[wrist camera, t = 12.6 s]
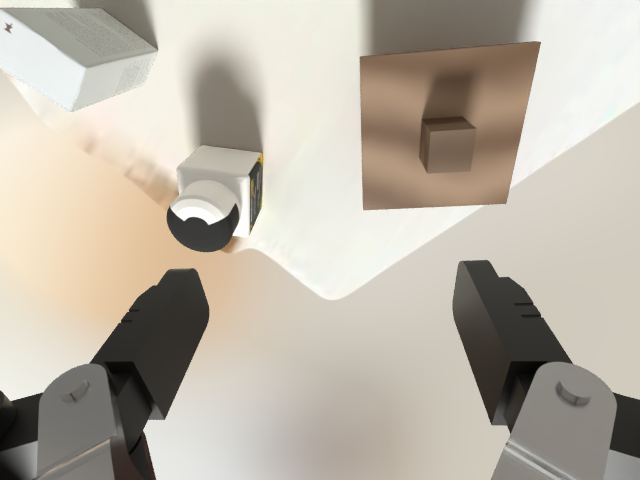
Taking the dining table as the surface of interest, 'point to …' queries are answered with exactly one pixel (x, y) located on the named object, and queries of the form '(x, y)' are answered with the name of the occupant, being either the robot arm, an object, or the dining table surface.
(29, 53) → the skincare box
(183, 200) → the medicine bottle
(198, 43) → the dining table surface
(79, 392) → the robot arm
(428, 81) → the walnut lid
